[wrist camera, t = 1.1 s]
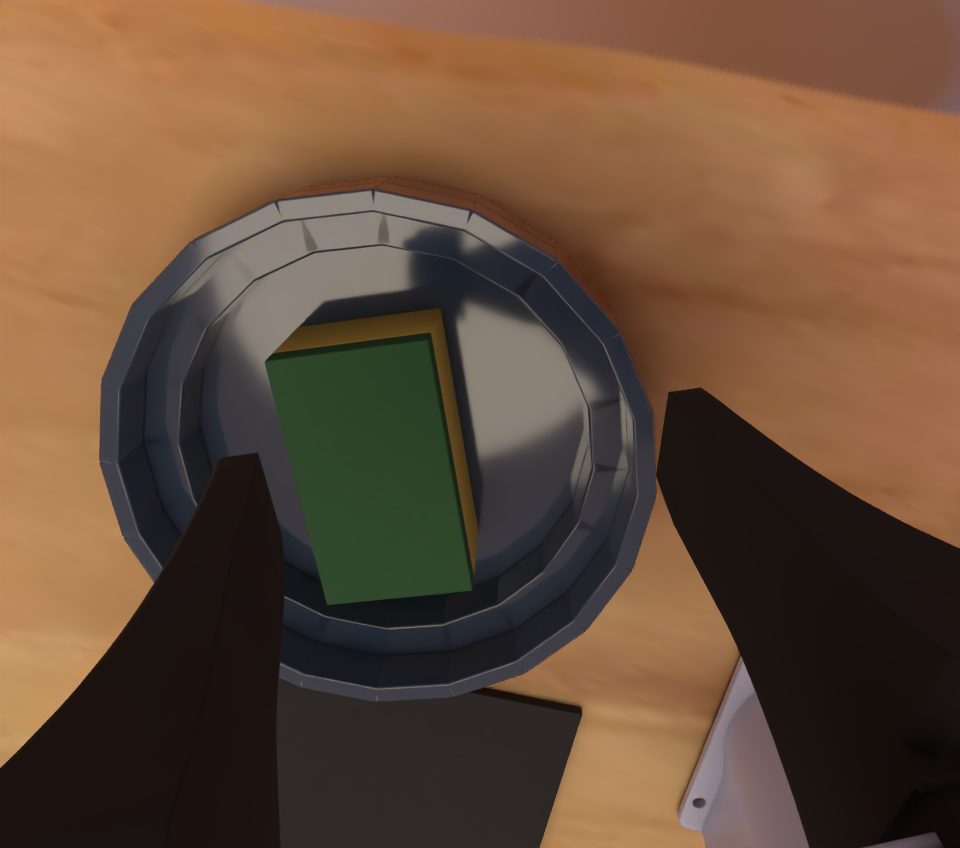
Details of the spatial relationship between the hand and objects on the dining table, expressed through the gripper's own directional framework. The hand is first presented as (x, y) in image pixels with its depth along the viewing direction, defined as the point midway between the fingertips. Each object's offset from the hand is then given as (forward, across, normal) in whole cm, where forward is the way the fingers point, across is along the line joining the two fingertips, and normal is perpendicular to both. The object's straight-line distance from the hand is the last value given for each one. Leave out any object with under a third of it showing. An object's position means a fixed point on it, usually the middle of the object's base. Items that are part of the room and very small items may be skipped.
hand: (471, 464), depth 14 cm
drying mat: (+5, +5, +27) cm, 28 cm away
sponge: (+10, +1, +8) cm, 13 cm away
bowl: (+11, +1, +8) cm, 13 cm away
